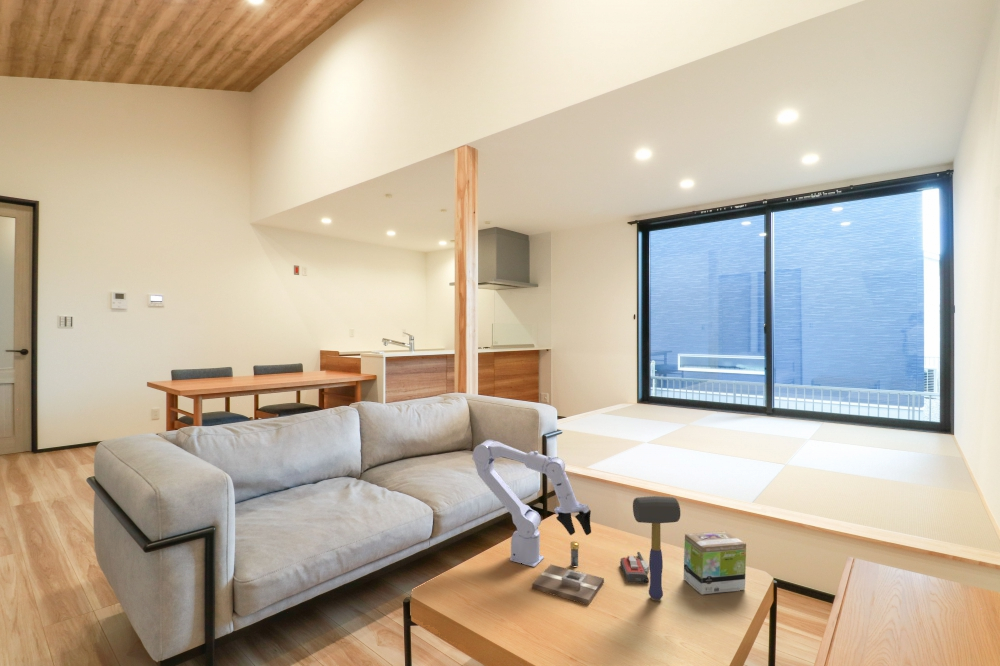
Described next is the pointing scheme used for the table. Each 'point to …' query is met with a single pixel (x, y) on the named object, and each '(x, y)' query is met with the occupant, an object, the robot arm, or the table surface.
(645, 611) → the table surface
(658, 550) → the rubber mallet
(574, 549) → the gold-capped cylinder
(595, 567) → the table surface
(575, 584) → the pilot socket
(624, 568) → the walkie-talkie
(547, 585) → the board
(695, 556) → the tea box
